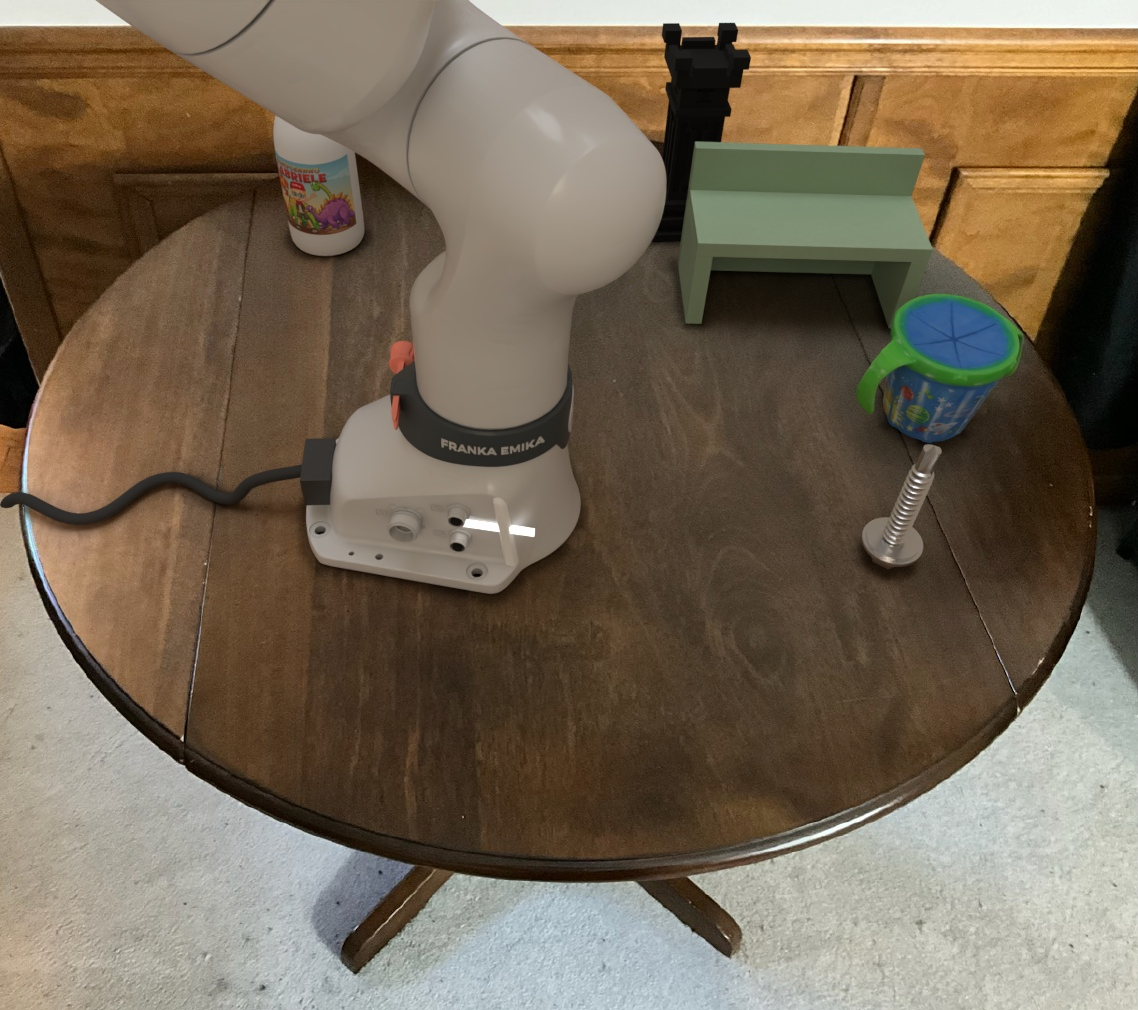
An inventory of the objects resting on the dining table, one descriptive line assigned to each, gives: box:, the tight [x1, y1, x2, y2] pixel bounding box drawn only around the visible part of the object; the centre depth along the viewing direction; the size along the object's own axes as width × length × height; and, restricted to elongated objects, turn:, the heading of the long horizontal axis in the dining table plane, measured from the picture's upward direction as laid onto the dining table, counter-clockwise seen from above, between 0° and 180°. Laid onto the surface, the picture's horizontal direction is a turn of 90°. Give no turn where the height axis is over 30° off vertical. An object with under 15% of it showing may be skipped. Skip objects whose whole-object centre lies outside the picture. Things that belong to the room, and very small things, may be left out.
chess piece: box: [651, 22, 752, 243], centre depth 107 cm, size 8×8×20 cm
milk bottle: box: [272, 115, 365, 257], centre depth 103 cm, size 8×8×20 cm
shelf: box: [677, 141, 933, 329], centre depth 102 cm, size 22×10×14 cm, turn 91°
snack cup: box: [855, 293, 1025, 444], centre depth 92 cm, size 16×10×10 cm
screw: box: [860, 443, 942, 570], centre depth 80 cm, size 13×5×5 cm
